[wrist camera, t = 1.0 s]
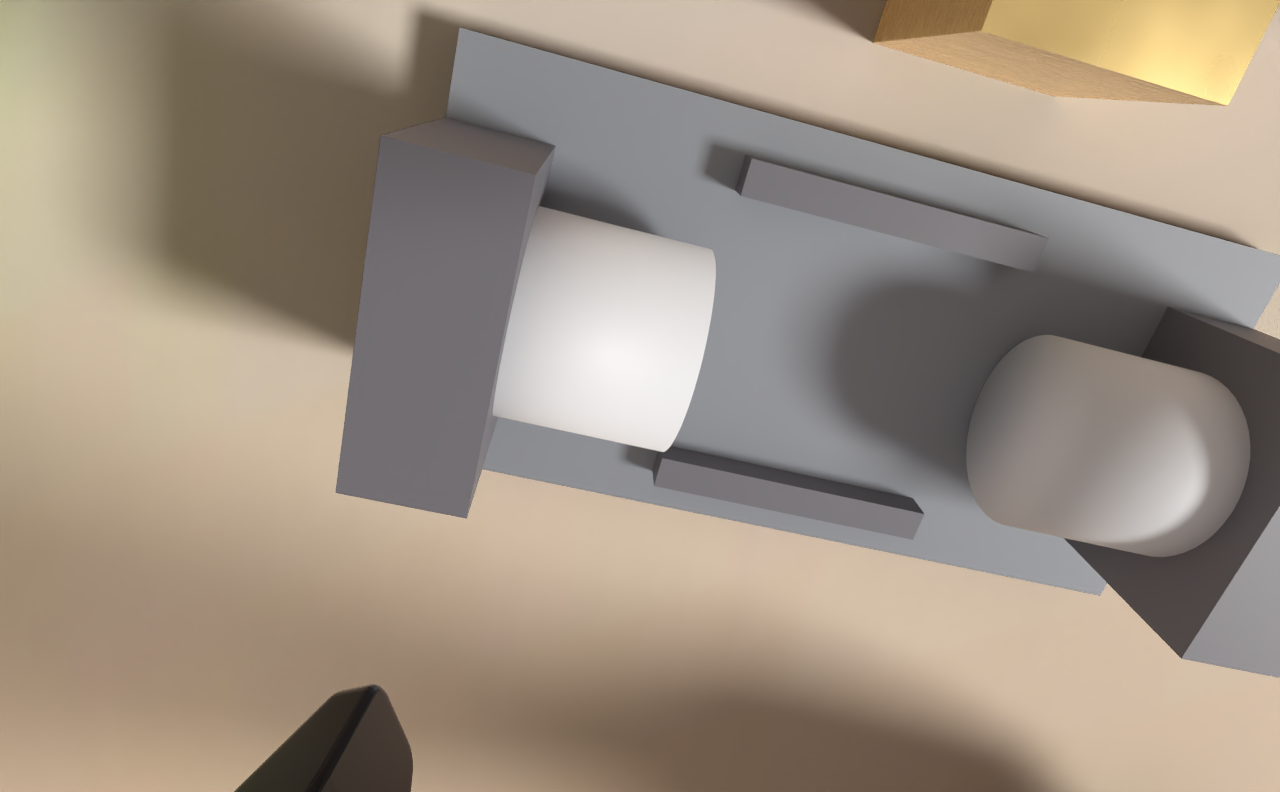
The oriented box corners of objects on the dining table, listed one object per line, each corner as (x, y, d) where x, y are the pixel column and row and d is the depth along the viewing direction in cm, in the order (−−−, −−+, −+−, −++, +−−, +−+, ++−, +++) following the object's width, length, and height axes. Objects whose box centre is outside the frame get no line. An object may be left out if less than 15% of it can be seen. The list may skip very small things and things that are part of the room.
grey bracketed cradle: (1261, 250, 20) (1530, 324, 14) (1080, 575, 23) (1235, 738, 18) (467, 30, 17) (396, 8, 11) (403, 434, 21) (325, 573, 15)
